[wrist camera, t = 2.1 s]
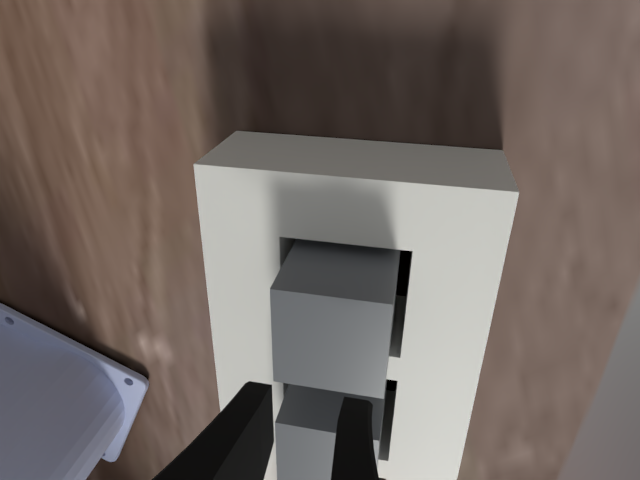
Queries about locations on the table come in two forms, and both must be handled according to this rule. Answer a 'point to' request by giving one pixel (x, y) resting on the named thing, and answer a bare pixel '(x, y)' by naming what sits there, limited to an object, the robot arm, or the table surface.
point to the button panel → (374, 231)
